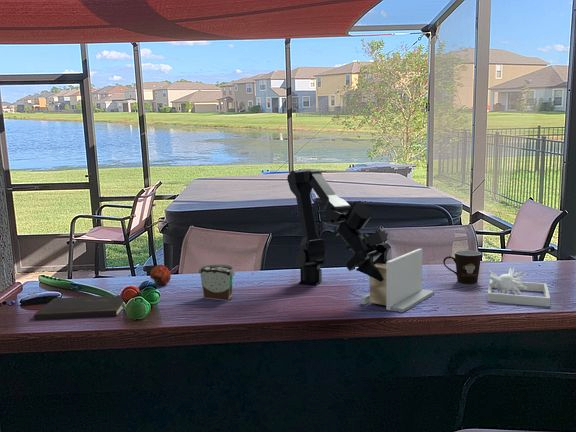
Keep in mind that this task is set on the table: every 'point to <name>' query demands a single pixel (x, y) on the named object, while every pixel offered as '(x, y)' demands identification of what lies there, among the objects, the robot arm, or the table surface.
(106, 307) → the hardcover book
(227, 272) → the food container
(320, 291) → the table surface
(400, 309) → the board
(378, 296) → the beige upright block
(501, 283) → the spiky ball
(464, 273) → the coffee mug
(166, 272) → the pomegranate
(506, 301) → the white flat square tray
